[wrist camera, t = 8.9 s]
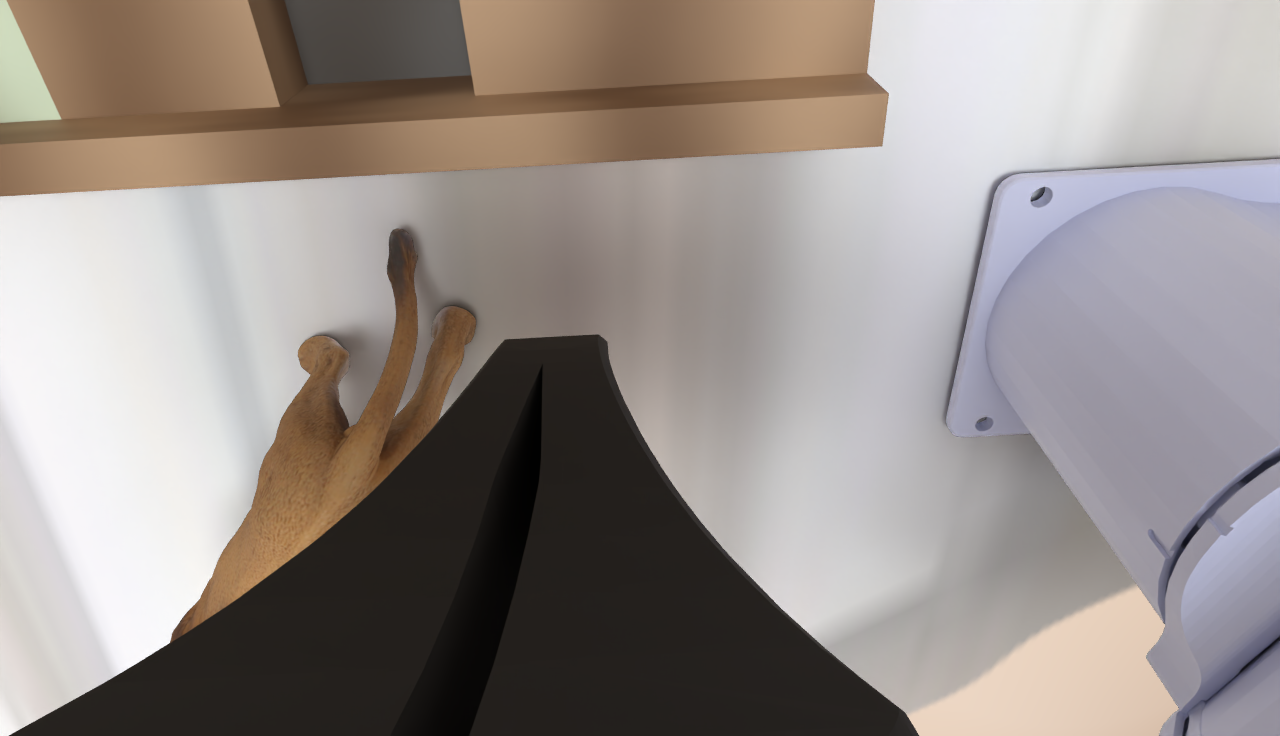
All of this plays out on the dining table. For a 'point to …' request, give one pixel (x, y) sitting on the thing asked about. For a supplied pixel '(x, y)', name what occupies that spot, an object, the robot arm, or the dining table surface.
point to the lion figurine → (337, 442)
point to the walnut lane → (417, 86)
